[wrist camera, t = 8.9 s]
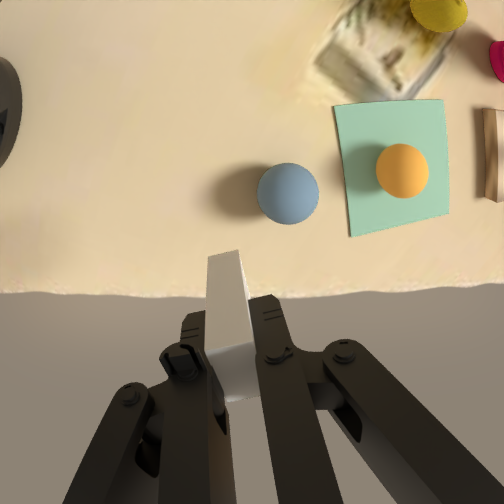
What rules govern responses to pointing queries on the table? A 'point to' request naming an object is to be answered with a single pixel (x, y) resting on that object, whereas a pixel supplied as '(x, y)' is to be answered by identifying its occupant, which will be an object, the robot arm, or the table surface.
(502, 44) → the pepper mill
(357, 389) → the robot arm
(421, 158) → the orange ball
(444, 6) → the lemon
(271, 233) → the table surface
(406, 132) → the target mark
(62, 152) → the table surface
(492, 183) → the bar
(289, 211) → the blue ball
